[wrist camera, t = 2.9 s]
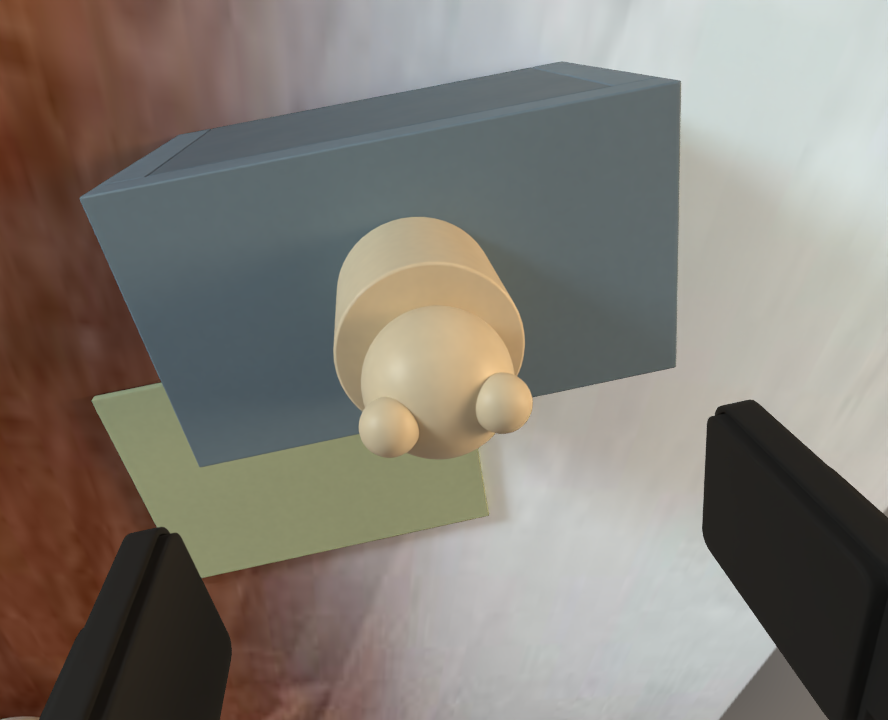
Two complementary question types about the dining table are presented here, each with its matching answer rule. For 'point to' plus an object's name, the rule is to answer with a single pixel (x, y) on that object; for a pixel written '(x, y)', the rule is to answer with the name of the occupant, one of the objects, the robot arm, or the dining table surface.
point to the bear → (428, 342)
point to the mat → (281, 489)
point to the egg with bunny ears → (22, 718)
